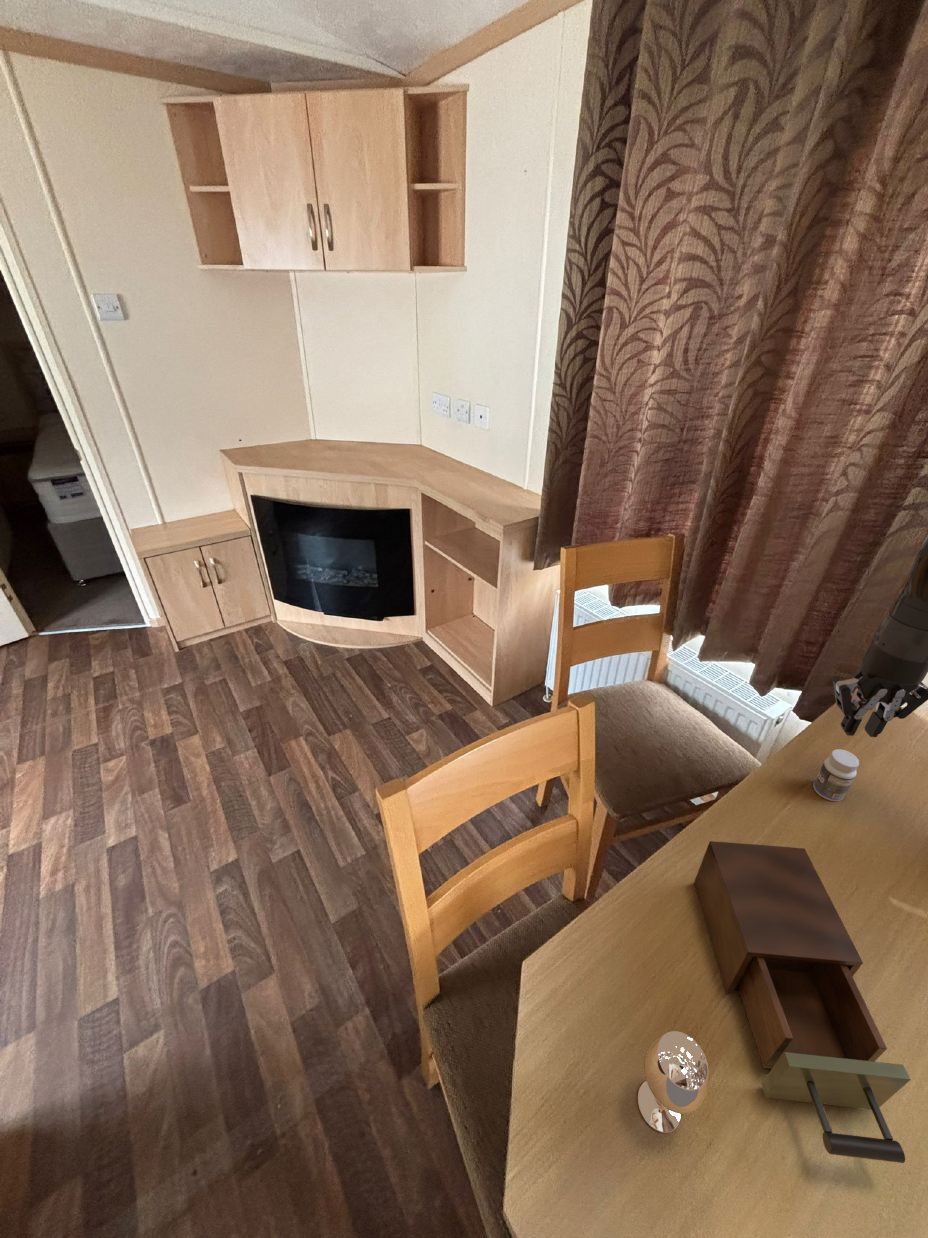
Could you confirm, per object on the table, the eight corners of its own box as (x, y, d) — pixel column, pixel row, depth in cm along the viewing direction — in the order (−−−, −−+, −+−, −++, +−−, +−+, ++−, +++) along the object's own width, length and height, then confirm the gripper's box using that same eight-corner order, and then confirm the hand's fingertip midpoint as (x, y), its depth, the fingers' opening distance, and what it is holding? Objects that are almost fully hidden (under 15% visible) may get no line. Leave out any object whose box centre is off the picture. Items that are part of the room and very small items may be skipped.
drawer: (908, 1182, 51) (949, 1156, 47) (786, 1167, 52) (814, 1139, 48) (816, 971, 67) (840, 937, 63) (724, 962, 68) (741, 928, 64)
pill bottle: (812, 777, 95) (829, 743, 91) (843, 787, 93) (861, 753, 89) (811, 795, 92) (829, 761, 87) (843, 806, 90) (862, 772, 85)
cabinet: (831, 1004, 65) (863, 963, 59) (725, 994, 66) (748, 952, 61) (781, 890, 77) (804, 848, 72) (693, 883, 78) (709, 840, 73)
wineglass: (621, 1105, 57) (640, 1059, 51) (647, 1058, 60) (668, 1010, 54) (671, 1158, 53) (698, 1116, 47) (696, 1106, 57) (725, 1060, 50)
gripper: (868, 657, 73) (824, 747, 83) (975, 662, 72) (919, 752, 81) (840, 629, 80) (802, 714, 89) (938, 633, 79) (890, 719, 88)
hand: (858, 732), depth 85 cm, fingers open, 3 cm apart
